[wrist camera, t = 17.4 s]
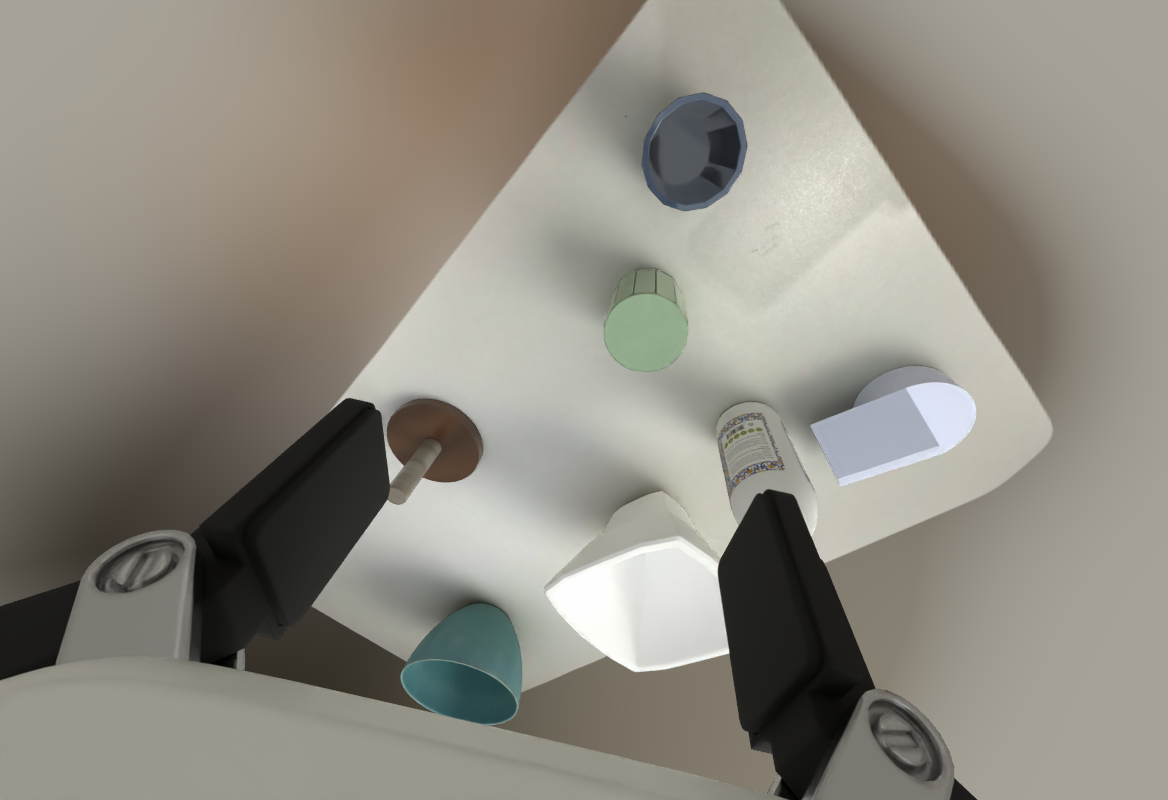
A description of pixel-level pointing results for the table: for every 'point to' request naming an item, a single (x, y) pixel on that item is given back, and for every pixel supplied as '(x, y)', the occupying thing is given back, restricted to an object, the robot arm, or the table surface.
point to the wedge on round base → (896, 423)
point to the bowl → (645, 589)
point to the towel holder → (431, 445)
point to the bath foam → (761, 460)
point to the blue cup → (694, 152)
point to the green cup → (646, 321)
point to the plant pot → (468, 667)
